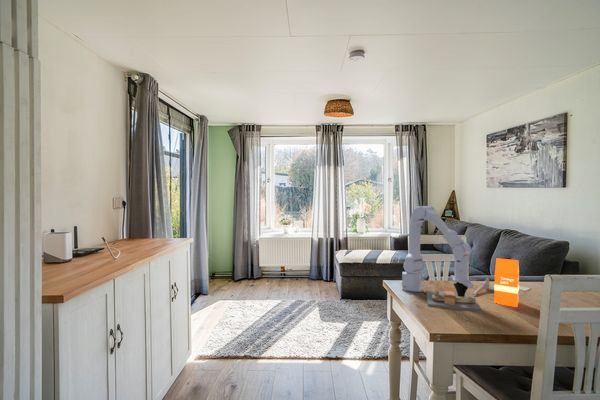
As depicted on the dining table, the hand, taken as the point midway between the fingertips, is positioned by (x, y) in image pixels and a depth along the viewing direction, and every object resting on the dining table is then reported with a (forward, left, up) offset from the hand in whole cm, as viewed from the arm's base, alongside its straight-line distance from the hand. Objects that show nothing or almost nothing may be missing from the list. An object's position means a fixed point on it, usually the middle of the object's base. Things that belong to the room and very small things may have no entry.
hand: (461, 299), depth 150 cm
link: (-3, -3, 0) cm, 4 cm away
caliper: (+12, +21, -2) cm, 24 cm away
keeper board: (-4, +1, -2) cm, 4 cm away
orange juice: (+20, +7, -2) cm, 21 cm away
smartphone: (+30, +37, -2) cm, 47 cm away
